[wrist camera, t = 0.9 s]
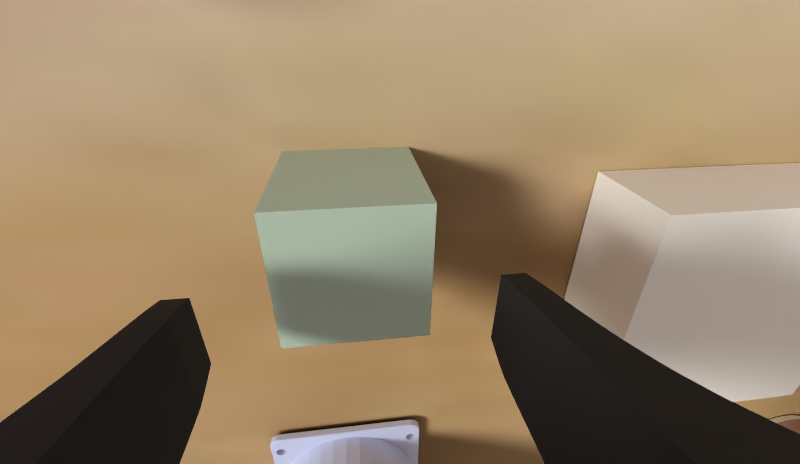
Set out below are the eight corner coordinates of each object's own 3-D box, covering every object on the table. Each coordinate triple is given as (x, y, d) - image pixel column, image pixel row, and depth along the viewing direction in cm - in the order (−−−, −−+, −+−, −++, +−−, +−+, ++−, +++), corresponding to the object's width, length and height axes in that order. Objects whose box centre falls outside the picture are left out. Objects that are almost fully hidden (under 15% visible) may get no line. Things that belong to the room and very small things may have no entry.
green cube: (406, 251, 16) (429, 335, 12) (298, 258, 16) (281, 348, 11) (408, 146, 14) (436, 203, 10) (282, 150, 14) (254, 212, 9)
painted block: (719, 334, 22) (792, 394, 18) (550, 350, 20) (592, 419, 17) (813, 161, 17) (937, 199, 13) (598, 171, 16) (671, 215, 12)
